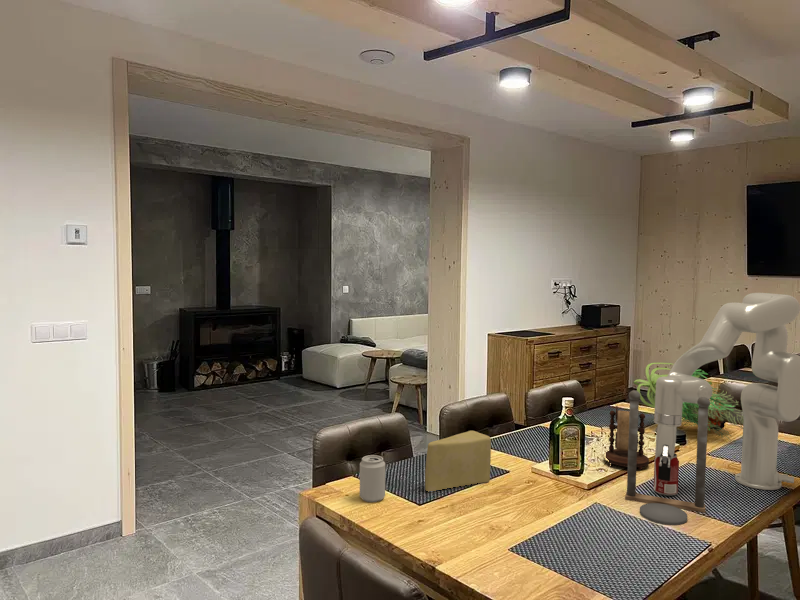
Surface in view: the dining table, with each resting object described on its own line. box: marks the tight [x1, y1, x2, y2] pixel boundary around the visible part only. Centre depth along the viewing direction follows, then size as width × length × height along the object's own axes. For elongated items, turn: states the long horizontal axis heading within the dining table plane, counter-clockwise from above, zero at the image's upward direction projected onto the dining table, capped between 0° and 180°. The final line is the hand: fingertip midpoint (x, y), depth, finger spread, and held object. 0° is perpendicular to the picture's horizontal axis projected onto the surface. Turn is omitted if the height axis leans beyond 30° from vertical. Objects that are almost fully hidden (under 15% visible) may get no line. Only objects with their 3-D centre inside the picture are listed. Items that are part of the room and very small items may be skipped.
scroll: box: [605, 405, 650, 471], centre depth 207 cm, size 15×15×20 cm
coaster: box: [639, 503, 688, 526], centre depth 166 cm, size 12×12×1 cm
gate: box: [624, 389, 711, 514], centre depth 173 cm, size 21×4×32 cm, turn 64°
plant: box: [632, 362, 743, 442], centre depth 248 cm, size 35×35×40 cm
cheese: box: [424, 430, 492, 493], centre depth 187 cm, size 22×10×15 cm, turn 125°
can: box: [359, 454, 386, 503], centre depth 176 cm, size 8×8×12 cm
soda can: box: [652, 452, 680, 497], centre depth 182 cm, size 7×7×12 cm
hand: (664, 474), depth 182 cm, fingers open, 9 cm apart
